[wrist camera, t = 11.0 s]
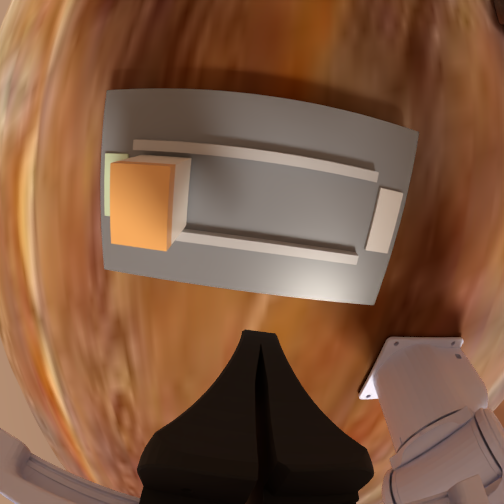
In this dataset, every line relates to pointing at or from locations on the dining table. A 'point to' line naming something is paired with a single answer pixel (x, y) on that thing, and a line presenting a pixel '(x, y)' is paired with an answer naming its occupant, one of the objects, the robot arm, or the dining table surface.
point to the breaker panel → (265, 191)
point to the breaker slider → (148, 200)
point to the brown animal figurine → (499, 10)
